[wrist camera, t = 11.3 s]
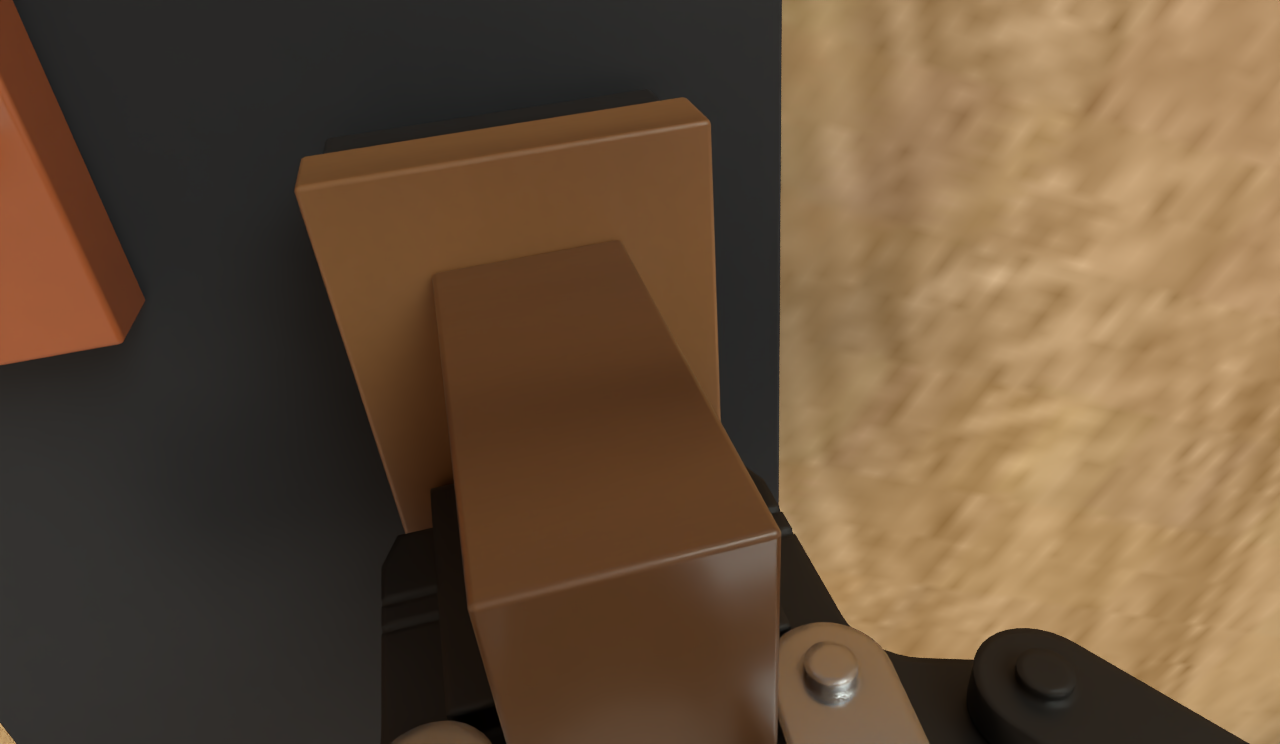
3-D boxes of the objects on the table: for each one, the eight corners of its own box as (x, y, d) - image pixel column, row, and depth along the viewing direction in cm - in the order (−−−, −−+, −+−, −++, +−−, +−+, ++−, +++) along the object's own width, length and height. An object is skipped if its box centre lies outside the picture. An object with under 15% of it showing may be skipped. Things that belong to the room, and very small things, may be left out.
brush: (307, 124, 11) (214, 515, 5) (660, 69, 11) (957, 354, 5) (469, 660, 16) (517, 1129, 11) (694, 602, 17) (856, 1013, 11)
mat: (-701, -316, 8) (-829, -335, 7) (754, -400, 10) (786, -422, 9) (150, 857, 19) (139, 904, 18) (762, 692, 21) (778, 728, 20)
